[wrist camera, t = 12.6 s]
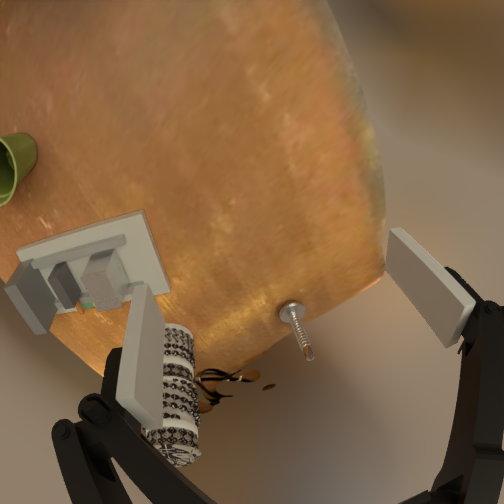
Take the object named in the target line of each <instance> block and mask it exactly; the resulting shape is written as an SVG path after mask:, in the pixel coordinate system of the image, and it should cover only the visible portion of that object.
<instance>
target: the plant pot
mask: <svg viewBox="0 0 504 504" xmlns="http://www.w3.org/2000/svg"><path fill="white" fill-rule="evenodd" d="M36 160H37V147H36V144H35V142H34V140H33V138H32V137H31V136H29V135H28V134H25V133H17V134H12V135H7V136H2V137H0V207H1V206H3V205H5V204H6V203H7V202H8V201H9V200H10V199H11V198H12V196H13V194H14V192H15V189H16V187H17V185H18V184H19V182H20V181H21V180H22V179H23V178H24V177H25V176H26V174H27V173H28V172H29V171H30V170H31V169H32V168H33V167H34V165H35V163H36ZM11 161H13V163H14V166H13V164H12V162H11Z"/></svg>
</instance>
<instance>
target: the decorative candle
mask: <svg viewBox="0 0 504 504" xmlns="http://www.w3.org/2000/svg"><path fill="white" fill-rule="evenodd" d="M193 343H194V341H193V334H192V333H191V332H190V330H189V329H187V328H186V327H184V326H182V325H179V324H175V323H165V338H164V361H163V429H151V430H146V429H145V428H143V430H145V432H146V435H147V439H148V441H149V442H150V443H151V444H152V445H153V446H154V447H155V448H156V449H157V450H158V451H159V452H160V453H161V454H162V455H163V456H164V457H165V458H166V459H167V460H168V461H169V462H170V463H171V464H172V465H173V466H174V467H182V466H187V465H190V464H192V463H193V462H194V461H195V459H196V458H198V457H199V456H200V455H201V452H200V451H199V450H198V442H197V438H198V430H197V429H198V428H199V427H200V423H201V419H199V418H200V412H199V407H198V406H197V405H198V403H199V402H198V400H197V397H198V394H197V393H196V392H197V389H196V388H195V385H194V384H193V378H194V374H193V370H194V369H195V365H194V364H195V359H194V354H195V352H194V344H193ZM194 410H195V411H194ZM195 412H196V413H195ZM195 421H197V423H195Z"/></svg>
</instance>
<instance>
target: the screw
mask: <svg viewBox="0 0 504 504" xmlns="http://www.w3.org/2000/svg"><path fill="white" fill-rule="evenodd" d="M305 312H306V309H305V306H304V305H303V304H302V303H300V302H295V301H287V302H286V303H285V304H284V305H283V307H282V308H281V310H280V312H279V317H280V319H281V320H282V321H283V322H286V323H291V325H292V327H293V330H294V333H295V335H296V338H297V340H298V343H299V346H300V348H301V350H302V351H303V352H304V355H305V357H306V360H307V361H311V360H313V359H314V355H313V352H312V350H311V347H310V346H311V344H310V341H309V339H308V336H307V333H306V331H305V328H304V326H303V323H302V321H301V318H302V317H303V316H304V314H305Z"/></svg>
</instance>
